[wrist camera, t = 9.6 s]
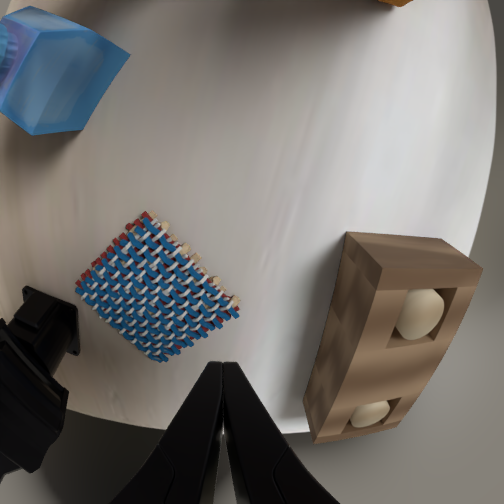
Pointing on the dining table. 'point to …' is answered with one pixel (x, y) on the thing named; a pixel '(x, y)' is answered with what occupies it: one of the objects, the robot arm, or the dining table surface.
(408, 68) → the dining table surface
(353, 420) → the dowel far
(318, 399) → the socket block
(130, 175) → the dining table surface
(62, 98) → the perfume bottle
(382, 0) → the coffee package
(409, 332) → the dowel near
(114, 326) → the woven mat
